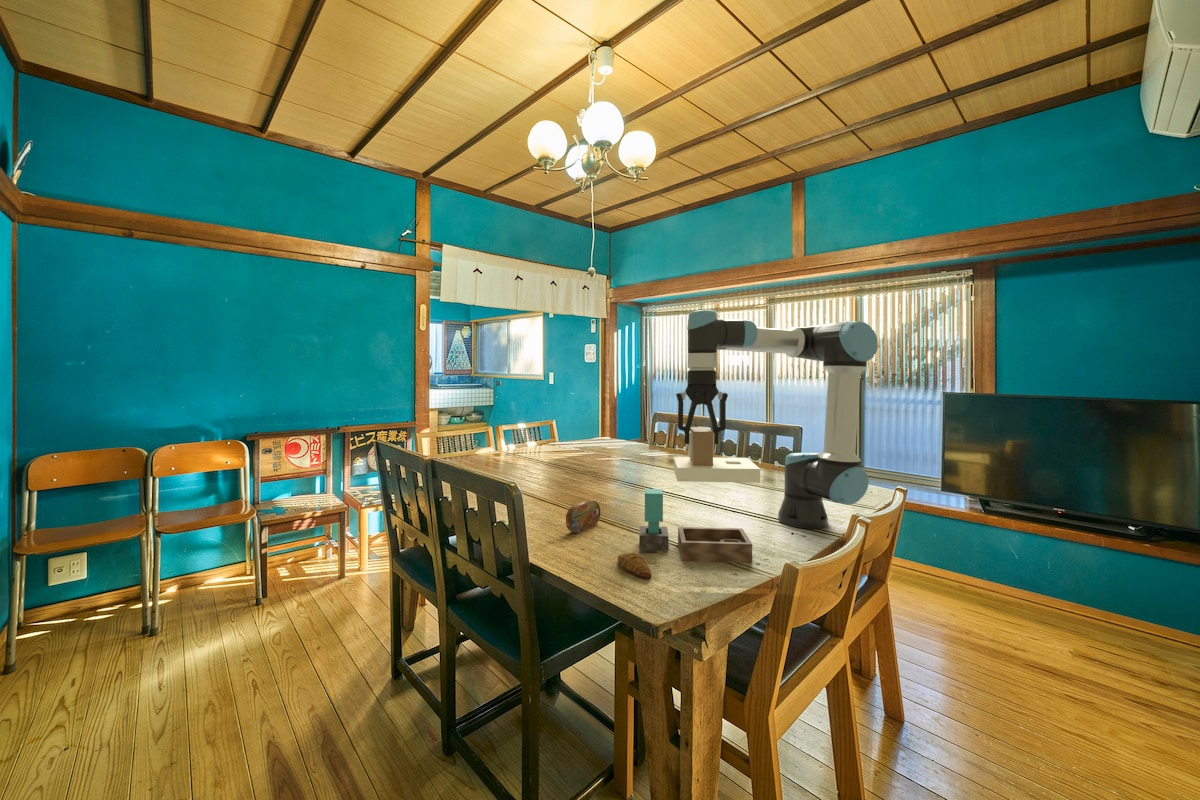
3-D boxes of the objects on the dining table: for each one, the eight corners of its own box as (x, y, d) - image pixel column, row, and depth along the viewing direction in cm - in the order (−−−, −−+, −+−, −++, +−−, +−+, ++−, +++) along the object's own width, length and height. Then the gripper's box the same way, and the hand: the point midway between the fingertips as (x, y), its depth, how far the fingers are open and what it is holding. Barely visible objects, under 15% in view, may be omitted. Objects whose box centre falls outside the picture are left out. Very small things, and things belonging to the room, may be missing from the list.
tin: (571, 536, 146) (571, 509, 146) (564, 534, 148) (563, 507, 148) (601, 523, 158) (601, 498, 158) (593, 521, 160) (593, 496, 160)
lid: (747, 470, 135) (747, 426, 134) (760, 482, 121) (760, 433, 120) (673, 469, 137) (673, 425, 136) (677, 481, 122) (677, 432, 121)
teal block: (661, 541, 139) (662, 489, 138) (662, 548, 134) (662, 493, 133) (644, 541, 139) (644, 488, 138) (644, 547, 134) (644, 493, 133)
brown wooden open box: (742, 549, 135) (742, 528, 135) (751, 566, 123) (752, 544, 123) (677, 547, 137) (678, 526, 136) (681, 564, 125) (681, 542, 125)
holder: (666, 543, 140) (666, 526, 140) (668, 553, 132) (668, 536, 132) (639, 542, 141) (639, 525, 140) (639, 553, 133) (639, 535, 132)
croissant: (608, 565, 126) (608, 546, 125) (629, 559, 129) (629, 541, 129) (637, 585, 114) (637, 565, 114) (660, 579, 117) (660, 559, 117)
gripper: (733, 369, 130) (732, 453, 132) (666, 369, 131) (666, 453, 133) (739, 369, 122) (738, 459, 124) (668, 369, 124) (668, 458, 126)
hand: (701, 456), depth 129 cm, fingers closed on lid, 5 cm apart
